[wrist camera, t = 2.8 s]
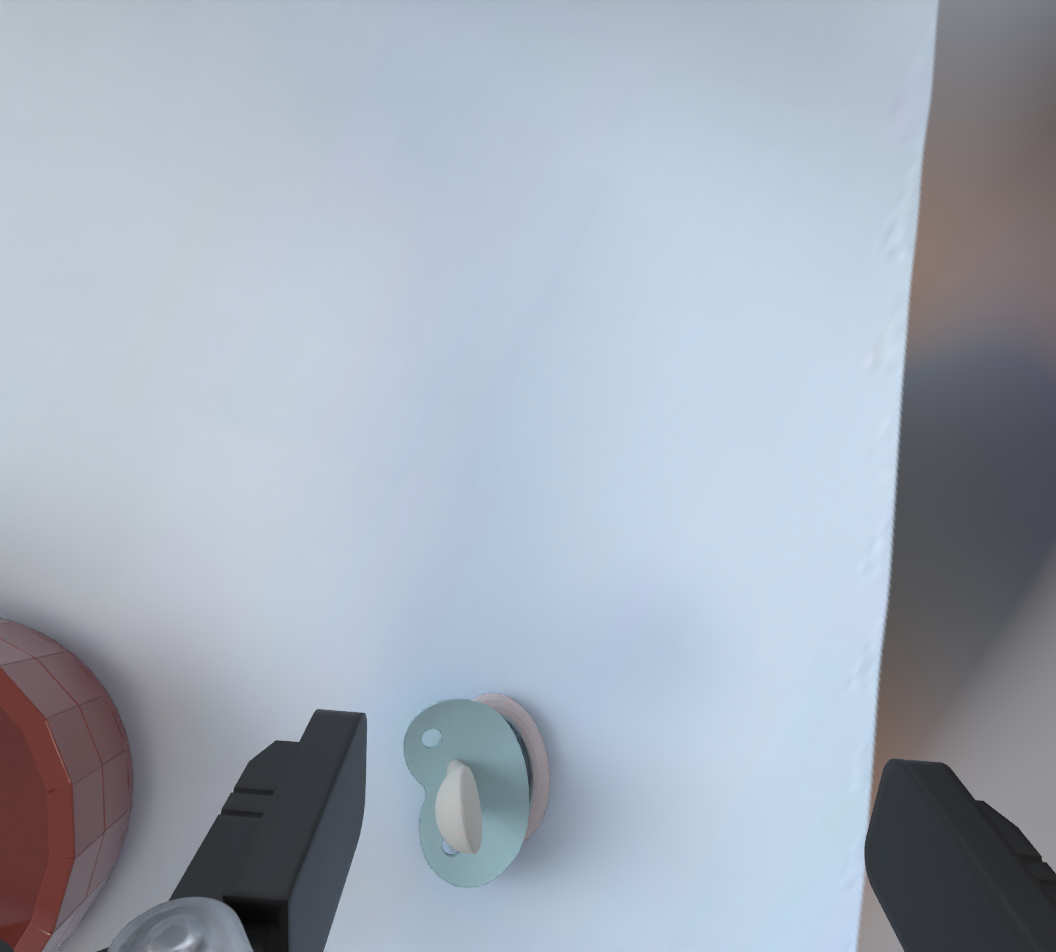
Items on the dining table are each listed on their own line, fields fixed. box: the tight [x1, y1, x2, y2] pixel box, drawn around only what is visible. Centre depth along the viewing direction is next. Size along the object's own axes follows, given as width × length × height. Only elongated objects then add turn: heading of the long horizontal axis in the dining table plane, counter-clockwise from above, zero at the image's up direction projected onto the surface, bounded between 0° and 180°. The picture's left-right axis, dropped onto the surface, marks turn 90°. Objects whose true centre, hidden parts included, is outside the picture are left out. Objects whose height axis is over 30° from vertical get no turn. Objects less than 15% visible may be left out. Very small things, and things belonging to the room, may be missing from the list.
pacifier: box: [404, 693, 550, 888], centre depth 30 cm, size 7×6×6 cm
